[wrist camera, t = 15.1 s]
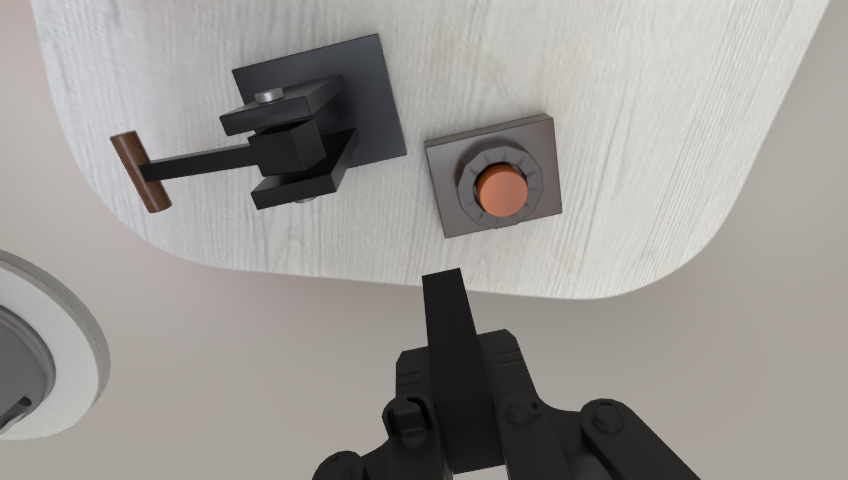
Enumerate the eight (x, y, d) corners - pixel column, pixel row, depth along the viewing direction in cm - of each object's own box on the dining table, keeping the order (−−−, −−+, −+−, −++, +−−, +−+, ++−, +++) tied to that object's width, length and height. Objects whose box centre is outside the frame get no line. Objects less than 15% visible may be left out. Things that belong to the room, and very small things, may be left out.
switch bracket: (279, 180, 37) (214, 256, 25) (236, 69, 33) (134, 90, 21) (407, 151, 36) (406, 212, 24) (378, 33, 33) (359, 33, 20)
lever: (166, 202, 30) (138, 217, 28) (130, 130, 28) (96, 141, 26) (334, 179, 26) (314, 195, 24) (305, 91, 24) (281, 100, 21)
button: (480, 213, 35) (483, 222, 33) (472, 170, 34) (475, 177, 32) (525, 203, 35) (531, 211, 33) (519, 159, 33) (525, 166, 32)
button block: (443, 228, 39) (446, 248, 36) (423, 141, 36) (425, 153, 32) (555, 204, 39) (570, 221, 35) (545, 112, 35) (561, 121, 32)
